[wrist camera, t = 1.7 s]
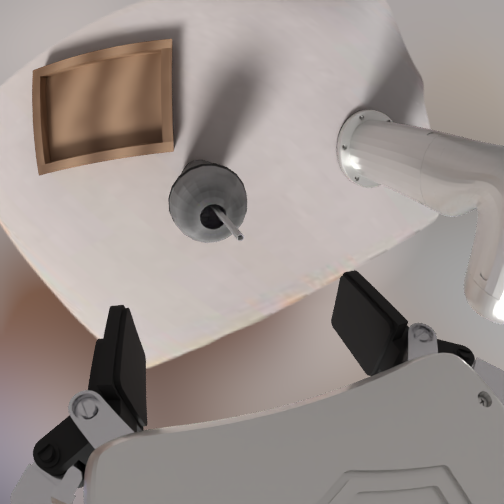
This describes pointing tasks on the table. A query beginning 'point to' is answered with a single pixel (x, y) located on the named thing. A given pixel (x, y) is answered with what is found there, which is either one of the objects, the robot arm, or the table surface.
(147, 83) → the walnut tray
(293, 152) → the table surface
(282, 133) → the table surface
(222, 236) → the beverage cup
